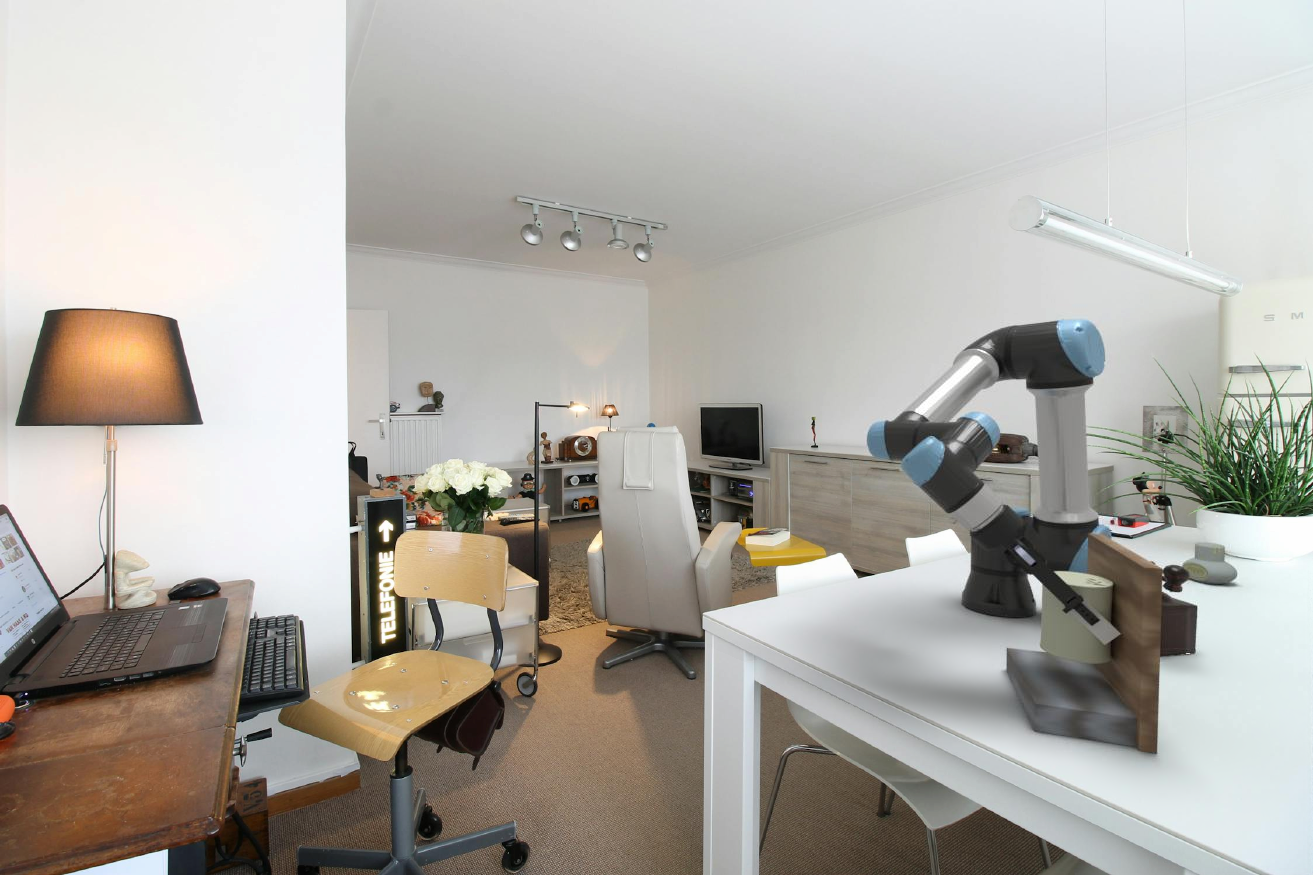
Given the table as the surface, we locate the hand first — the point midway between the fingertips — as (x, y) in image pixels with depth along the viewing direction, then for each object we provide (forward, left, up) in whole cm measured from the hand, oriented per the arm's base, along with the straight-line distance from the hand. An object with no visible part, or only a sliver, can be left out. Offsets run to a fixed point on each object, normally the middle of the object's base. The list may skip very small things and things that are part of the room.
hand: (1101, 627), depth 93 cm
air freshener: (-89, -55, -13) cm, 106 cm away
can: (+3, -2, -4) cm, 6 cm away
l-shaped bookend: (+3, -2, -13) cm, 13 cm away
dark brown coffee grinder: (-31, -18, -13) cm, 38 cm away
